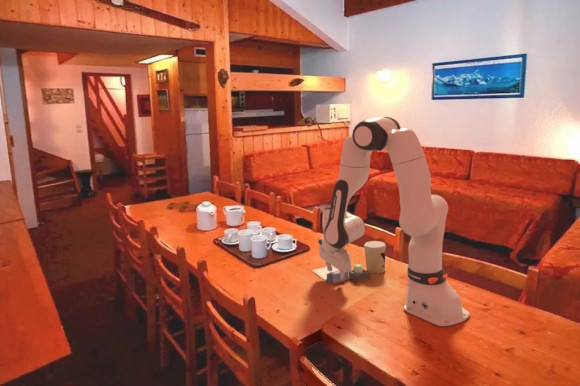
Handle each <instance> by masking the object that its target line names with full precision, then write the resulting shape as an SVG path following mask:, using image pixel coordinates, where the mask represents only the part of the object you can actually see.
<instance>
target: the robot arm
mask: <svg viewBox="0 0 580 386" xmlns="http://www.w3.org/2000/svg"><path fill="white" fill-rule="evenodd" d="M382 150H385V151H386V152H387V153H388V156H389V157H390V162H391V165H392V169H393V171H394V174H395V179H396V182H397V185H398V186H397V187H398V192H399V206H400V213H399V214H400V215H399V217H398V223H399V227H400V229H401V231H402V232H404V234H406V235H407V236H409V237H410V241H409V243H408V265H407V270H406V271H407V272H406V273H407V279H408V283H407V286H406V293H405V294H406V295H405V301H404V306H403V311H404V310H405V312H406V311H407V313H408V314H411V315H413V316H415V317H417V318H420V319H422V320H425V321H426V322H429V323H431V324H433V325H436V326H438V327H449V326H453V325H456V324H457V325H458V324H460V323H463V322H465V321H466V320H468V319H469V317H470V315H471V314H470V311H468V310H467V309H466V308H464V307H463V305H462V299H461V297H460V295H459V294H458V291H457V290H456V289H454V288H453V287H452V286H451V284H450V283H449V282H448V281H447V277H449V276H448V275H449V273H445V272H444V271H445V269H444V268H443V263H442V262H443V259H442V257H443V242H444V235H445V231H446V223H447V222H446V221H447V216H448V211H449V205H448V202H447V201H446V200H445V198H443V196H440V195H438V194H432V189H431V187H432V184H431V182H432V175H431V172H430V168H429V165H428V162H427V158H426V155H425V152H424V149H423V147H422V144H421V141H420V140H419V138H418V136H417V134H416V132H415V131H414V130H412V129H410V128H401V125H400V123H399V122H398V120H396V119H395V118H393V117H391V116H390V117H388V116H384V117H377V116H376V117H372V118H371V117H370V118H367V119H363V120H361V121H360V122H359V123H357V124H355V126H354V127H353V129H352V134H351V135H348V136H347V137H346V138H344V141H343V144H342V148H341V153H340V162H339V172H338V177H337V179H336V181H335V182H336V183H335V185H334V187H333V190H332V195H331V202H330V205H329V206H328V207H327V206H326V207H325V208H324V209H323V211H322V215H321V216H322V219H321V220H322V221H321V222H322V223H321V224H322V230H323V234H322V237H321V238H318V239H317V243H318V251H319V252H318V253H319V257H320V259H322V260H323V261H325V262H324V263H325V265H326V266H325V267H327V270H328V271H332V266H333V267H334V268H336V269H337V270H339V271H340V274H339V278H340V279H344V274H345V272H348V273H349V271H350V270H352V262H351V256H350V253H349V252H348V250H347V249H345V247H346V246H347V245H348V244H350V243H352V242H354V241H355V240H358V239H360V238H361V237H362V236H364V234H365V232H366V224H365V222H364V220H363V219H362V218H361V217H360V216H359V215H355V214H352V213H351V212H348V211H347V210H348V205H349V202H350V200H351V199H352V196H353V195H355V193H356V192H357V191H358V190H360V189H361V188H362V187H363V186H364V185H365V184H366V183H367V181H368V179H369V176H370V175H369V174H370V170H371V168H370V165H371V155H372V153H373V151H374V152H381V151H382Z"/></svg>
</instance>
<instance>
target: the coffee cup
mask: <svg viewBox="0 0 580 386" xmlns="http://www.w3.org/2000/svg"><path fill="white" fill-rule="evenodd" d="M363 248H364V257H365V264H366V271H367V272H369V273H371V274H381V273H383V272H385V269H386V248H387V245H386V243H385V242H383V241H381V240H380V241H379V240H370V241H367V242H365V243H364V245H363Z"/></svg>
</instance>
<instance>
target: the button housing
mask: <svg viewBox="0 0 580 386" xmlns="http://www.w3.org/2000/svg"><path fill="white" fill-rule="evenodd" d="M369 273H370V272H368V271H367V270H365V269H364V268H363V273H361V274H355V273H354V268H353V269H351V270H350V271H348V276H349V279H351V280H352V281H354V282H355V283H359V282H362V281H366V280H367V281H368V280H369V278H370V274H369Z"/></svg>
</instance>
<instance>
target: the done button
mask: <svg viewBox="0 0 580 386" xmlns="http://www.w3.org/2000/svg"><path fill="white" fill-rule="evenodd" d="M353 269H354V273H355V274H361V273H363V269H364V266H363V265H362V264H361V263H360V264H359V263H357V264H354V265H353Z"/></svg>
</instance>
